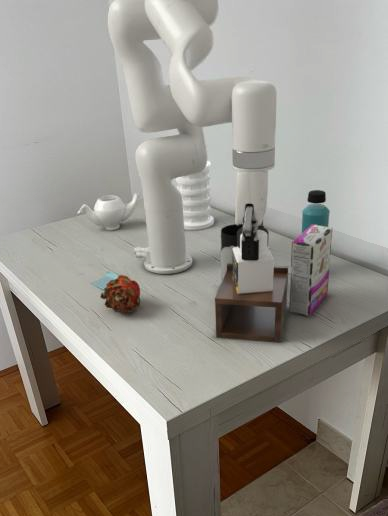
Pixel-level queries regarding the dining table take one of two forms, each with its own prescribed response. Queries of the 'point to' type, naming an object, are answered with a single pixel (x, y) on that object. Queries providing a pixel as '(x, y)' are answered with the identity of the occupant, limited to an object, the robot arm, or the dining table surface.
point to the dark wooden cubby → (252, 309)
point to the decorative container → (196, 199)
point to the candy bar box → (310, 269)
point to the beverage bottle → (315, 210)
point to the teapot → (110, 211)
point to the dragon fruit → (122, 294)
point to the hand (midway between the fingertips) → (252, 251)
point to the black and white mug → (228, 245)
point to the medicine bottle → (253, 266)
